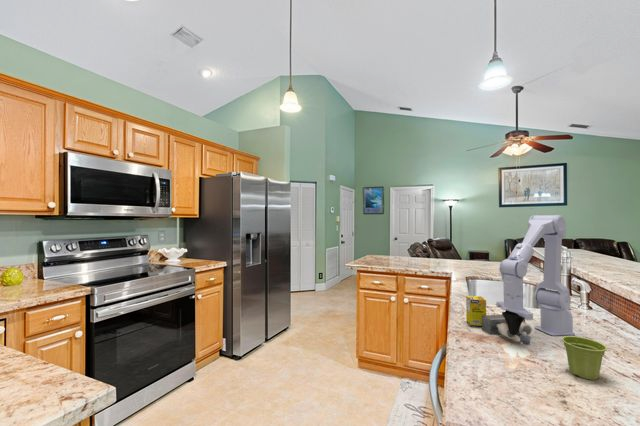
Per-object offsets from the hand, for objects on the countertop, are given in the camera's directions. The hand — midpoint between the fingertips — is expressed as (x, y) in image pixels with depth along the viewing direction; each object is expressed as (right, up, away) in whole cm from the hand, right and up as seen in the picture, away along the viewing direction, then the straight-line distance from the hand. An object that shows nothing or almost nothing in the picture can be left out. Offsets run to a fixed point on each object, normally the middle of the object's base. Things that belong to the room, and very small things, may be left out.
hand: (513, 334), depth 104 cm
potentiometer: (+4, -3, 0) cm, 5 cm away
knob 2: (+7, -2, +9) cm, 11 cm away
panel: (+3, -3, +10) cm, 11 cm away
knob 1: (-1, -2, +6) cm, 7 cm away
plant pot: (+6, -3, -21) cm, 22 cm away
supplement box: (-4, -4, +17) cm, 18 cm away
